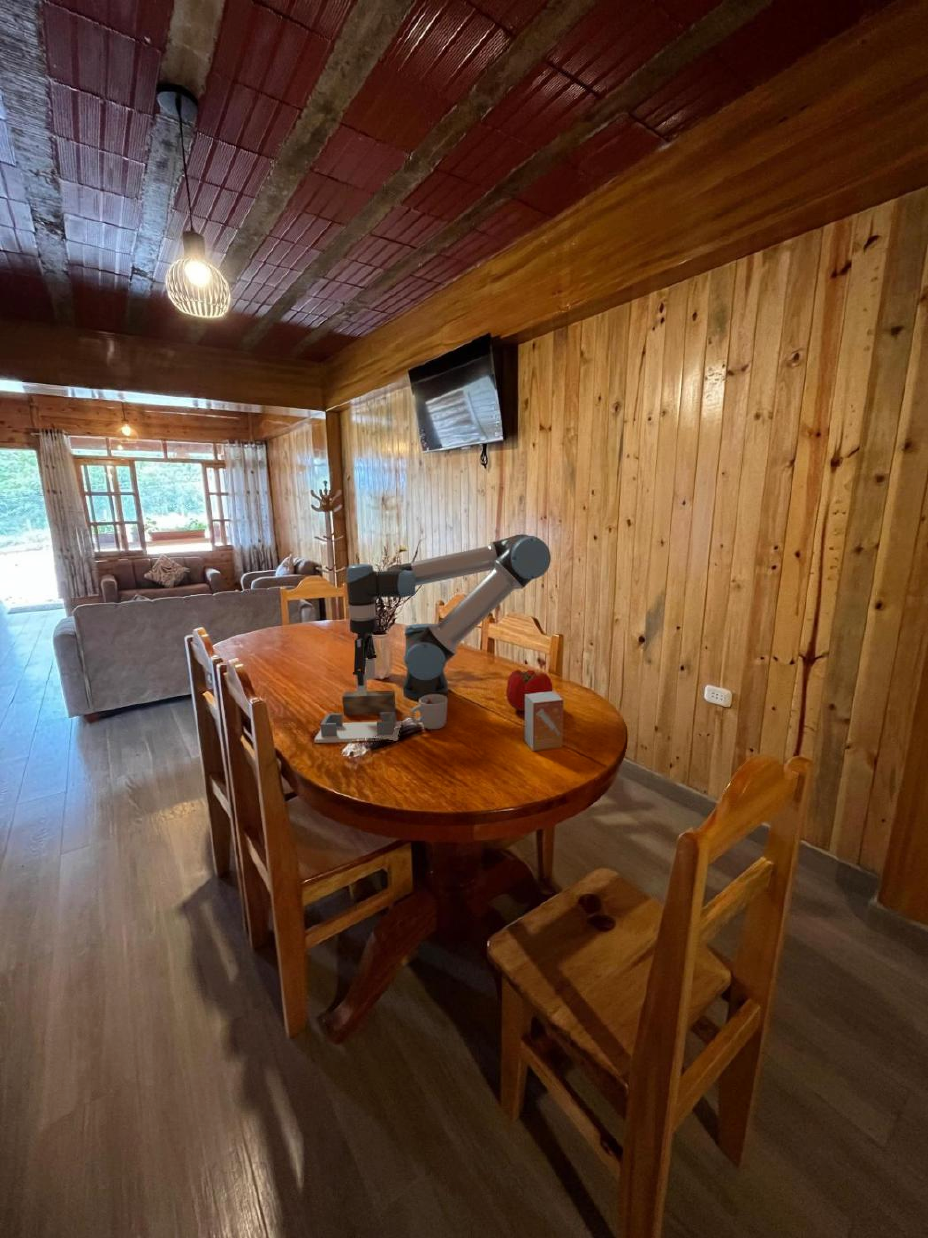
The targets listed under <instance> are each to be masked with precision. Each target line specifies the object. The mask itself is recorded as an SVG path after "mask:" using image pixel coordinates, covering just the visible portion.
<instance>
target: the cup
mask: <svg viewBox="0 0 928 1238" xmlns="http://www.w3.org/2000/svg"><path fill="white" fill-rule="evenodd" d="M417 711H419V717H418V718H415V713H416V712H417ZM447 714H448V697H447V696H446V695H444V696H443V695H439V694H430V695H425V696H423V697H421V698H420V699H419V700H418V705H416V706H414V707H412V708H411V709H410V719H411V721H412V722H413V723H415V724H418V723H422V725H423V727H424V728H426V729H428V730H438V729H442V728H443V727H444V726H445V725H446V722H447Z"/></svg>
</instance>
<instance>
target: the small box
mask: <svg viewBox="0 0 928 1238" xmlns="http://www.w3.org/2000/svg"><path fill="white" fill-rule="evenodd" d="M563 726H564V699H563V697H561V696H560V695H559V694H558V693H557V692H556V691H554V690H553V691H551V692H539V693H533V694H525V711H524V741H525V742H526V744H527V746H528V747H530V749H531V750H532V751H533V752H535V751H542V750H549V749H557V748H558V749H559V748H563V734H564V730H563V729H564V728H563Z"/></svg>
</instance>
